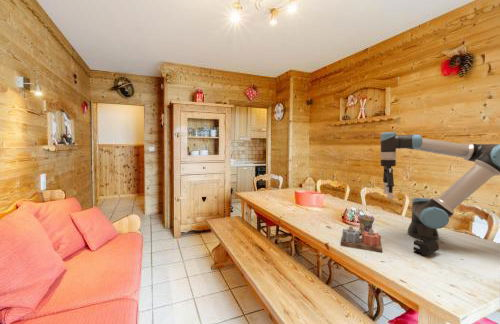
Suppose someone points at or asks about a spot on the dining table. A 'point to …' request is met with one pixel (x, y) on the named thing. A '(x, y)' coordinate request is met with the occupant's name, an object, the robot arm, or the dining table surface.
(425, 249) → the end cap
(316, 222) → the dining table surface
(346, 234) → the gear
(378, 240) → the red gear
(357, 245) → the gear board
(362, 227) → the mug
